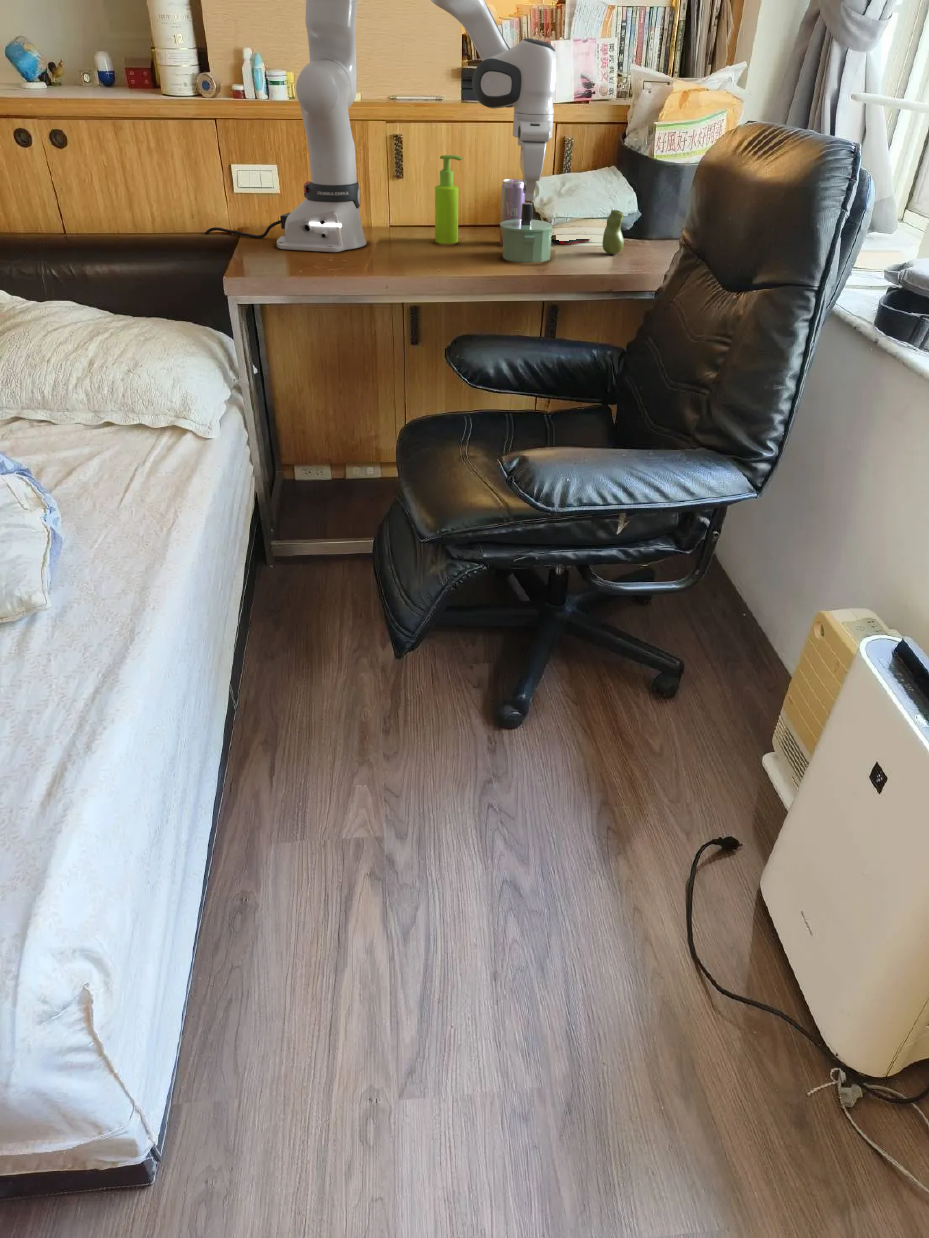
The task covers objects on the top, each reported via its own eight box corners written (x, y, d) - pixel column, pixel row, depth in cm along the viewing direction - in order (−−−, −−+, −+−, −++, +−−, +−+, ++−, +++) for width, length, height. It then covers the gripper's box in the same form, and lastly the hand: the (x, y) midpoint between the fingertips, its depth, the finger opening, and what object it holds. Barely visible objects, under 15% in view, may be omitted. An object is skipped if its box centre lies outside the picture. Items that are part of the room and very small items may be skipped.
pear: (602, 251, 208) (607, 207, 202) (623, 252, 207) (629, 208, 201) (600, 255, 204) (604, 211, 198) (621, 257, 203) (626, 212, 197)
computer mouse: (593, 241, 217) (595, 225, 215) (560, 246, 212) (562, 229, 210) (579, 237, 221) (580, 221, 219) (546, 241, 217) (547, 224, 214)
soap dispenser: (457, 247, 209) (458, 157, 198) (431, 244, 211) (431, 156, 199) (464, 242, 214) (466, 154, 202) (439, 240, 216) (439, 153, 204)
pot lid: (501, 234, 191) (502, 207, 187) (499, 223, 201) (499, 198, 197) (554, 235, 191) (556, 208, 188) (549, 224, 201) (551, 199, 198)
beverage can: (523, 244, 213) (526, 179, 204) (522, 249, 208) (525, 183, 200) (500, 243, 214) (502, 178, 205) (498, 248, 209) (501, 182, 200)
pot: (503, 267, 193) (505, 233, 189) (501, 251, 206) (502, 219, 202) (552, 268, 193) (554, 234, 189) (546, 252, 207) (548, 220, 202)
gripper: (516, 122, 192) (512, 188, 200) (521, 132, 175) (516, 204, 184) (543, 123, 192) (538, 189, 200) (550, 133, 175) (544, 205, 184)
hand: (527, 196), depth 192 cm, fingers open, 8 cm apart
